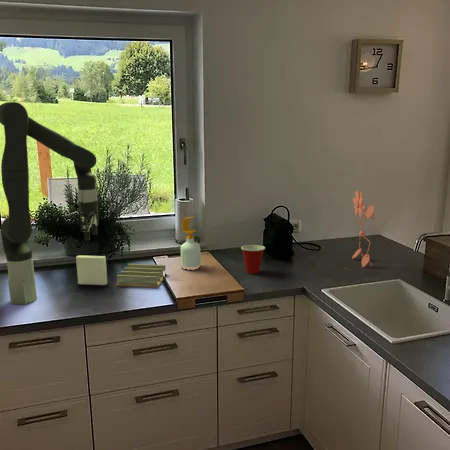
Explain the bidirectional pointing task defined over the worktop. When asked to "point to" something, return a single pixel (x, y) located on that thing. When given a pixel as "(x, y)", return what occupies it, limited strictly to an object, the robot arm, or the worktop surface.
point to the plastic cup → (253, 257)
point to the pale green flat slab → (91, 270)
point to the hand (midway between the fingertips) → (91, 237)
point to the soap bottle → (190, 247)
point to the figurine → (368, 213)
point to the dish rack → (141, 275)
